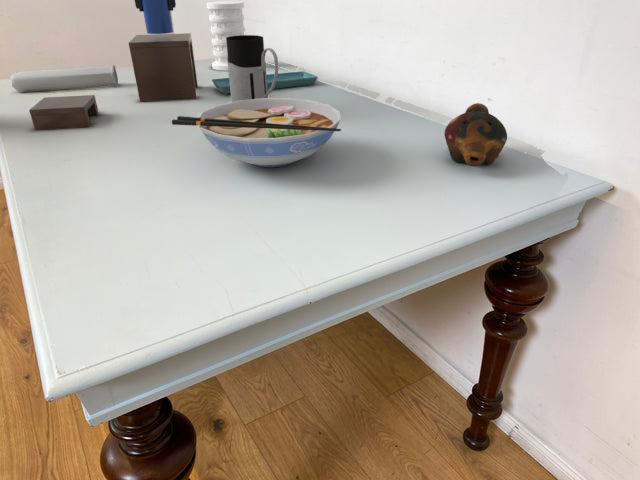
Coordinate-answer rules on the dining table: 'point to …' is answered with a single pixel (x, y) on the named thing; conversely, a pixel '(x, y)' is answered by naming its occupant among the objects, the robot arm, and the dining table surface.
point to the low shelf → (63, 112)
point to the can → (157, 16)
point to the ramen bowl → (267, 129)
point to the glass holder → (248, 67)
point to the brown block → (164, 66)
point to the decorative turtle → (475, 136)
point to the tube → (64, 79)
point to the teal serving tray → (282, 81)
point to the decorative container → (224, 28)
